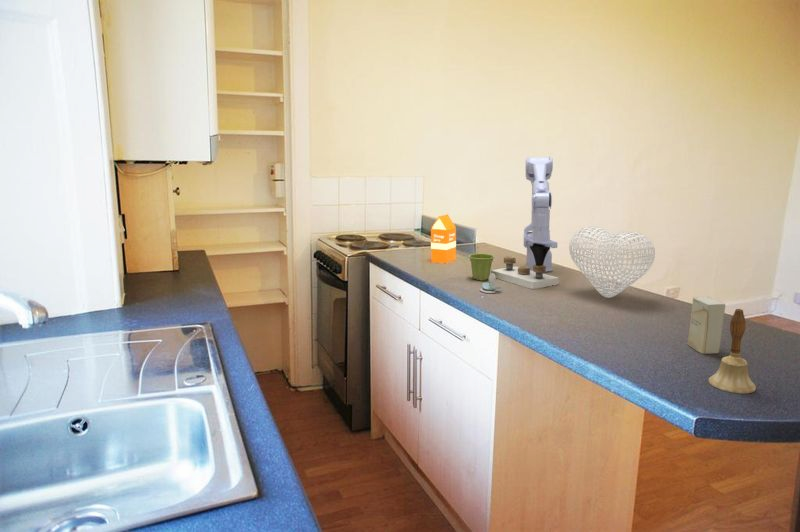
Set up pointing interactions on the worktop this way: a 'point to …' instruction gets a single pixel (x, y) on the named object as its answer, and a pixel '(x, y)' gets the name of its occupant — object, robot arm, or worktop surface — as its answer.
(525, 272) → the knob middle
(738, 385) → the hand bell
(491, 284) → the pacifier
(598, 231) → the heart
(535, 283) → the mount plate
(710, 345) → the skincare box
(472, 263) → the plant pot
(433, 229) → the orange juice
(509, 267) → the knob
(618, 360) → the worktop surface
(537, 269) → the knob
